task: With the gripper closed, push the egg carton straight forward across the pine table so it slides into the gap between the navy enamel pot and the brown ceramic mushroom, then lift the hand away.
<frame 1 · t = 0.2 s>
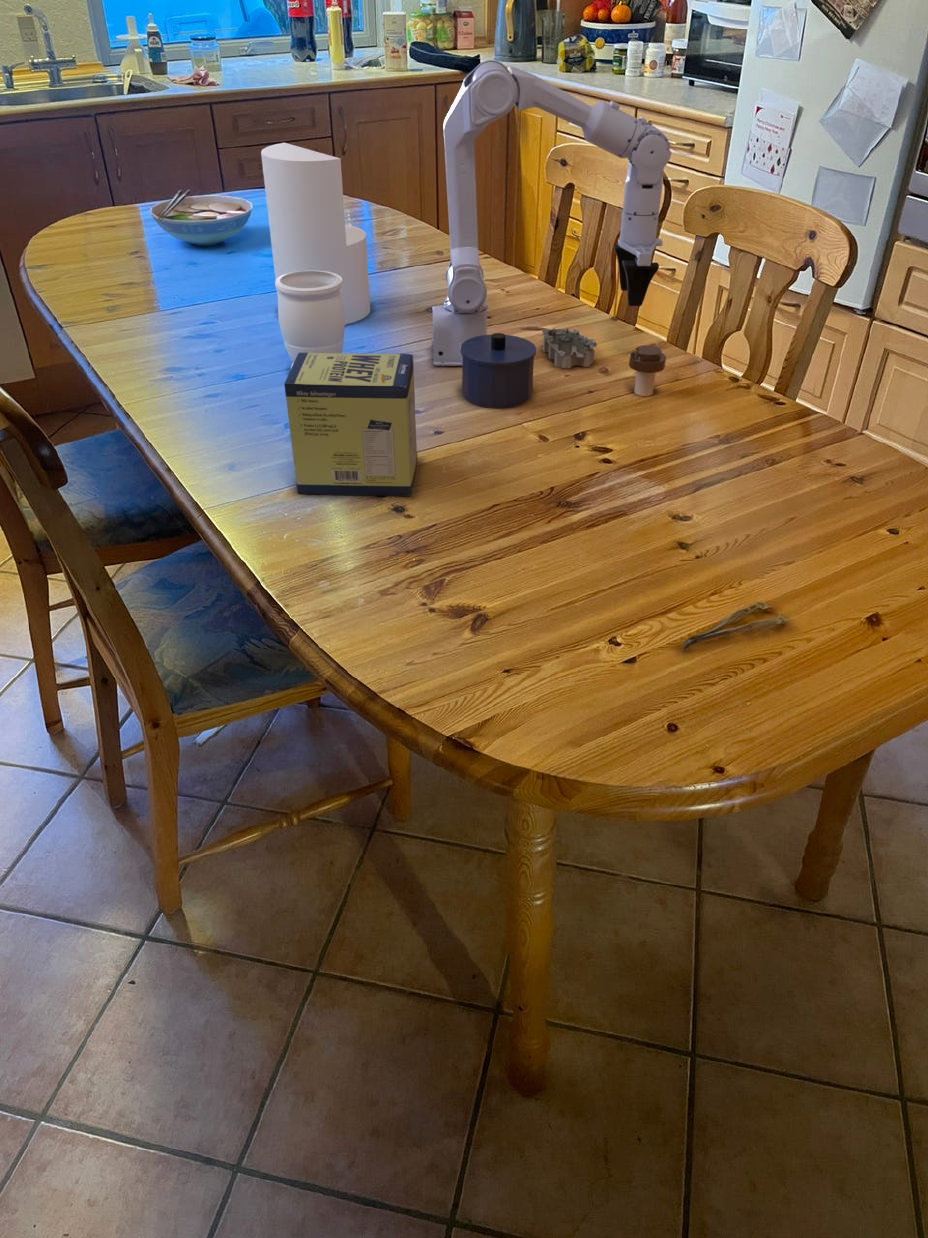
hand: (631, 297, 158), 10 cm above the table, tool pointing down, fingers open, 7 cm apart
protein box: (358, 478, 129), on the table
cylinder: (325, 311, 181), on the table
jar: (316, 371, 158), on the table
tongs: (732, 636, 102), on the table
egg carton: (566, 358, 164), on the table
mushroom: (643, 392, 152), on the table
pot lid: (498, 351, 147), point 7 cm above the table, touching pot
ramen bowl: (206, 242, 218), on the table
pot: (496, 393, 151), on the table
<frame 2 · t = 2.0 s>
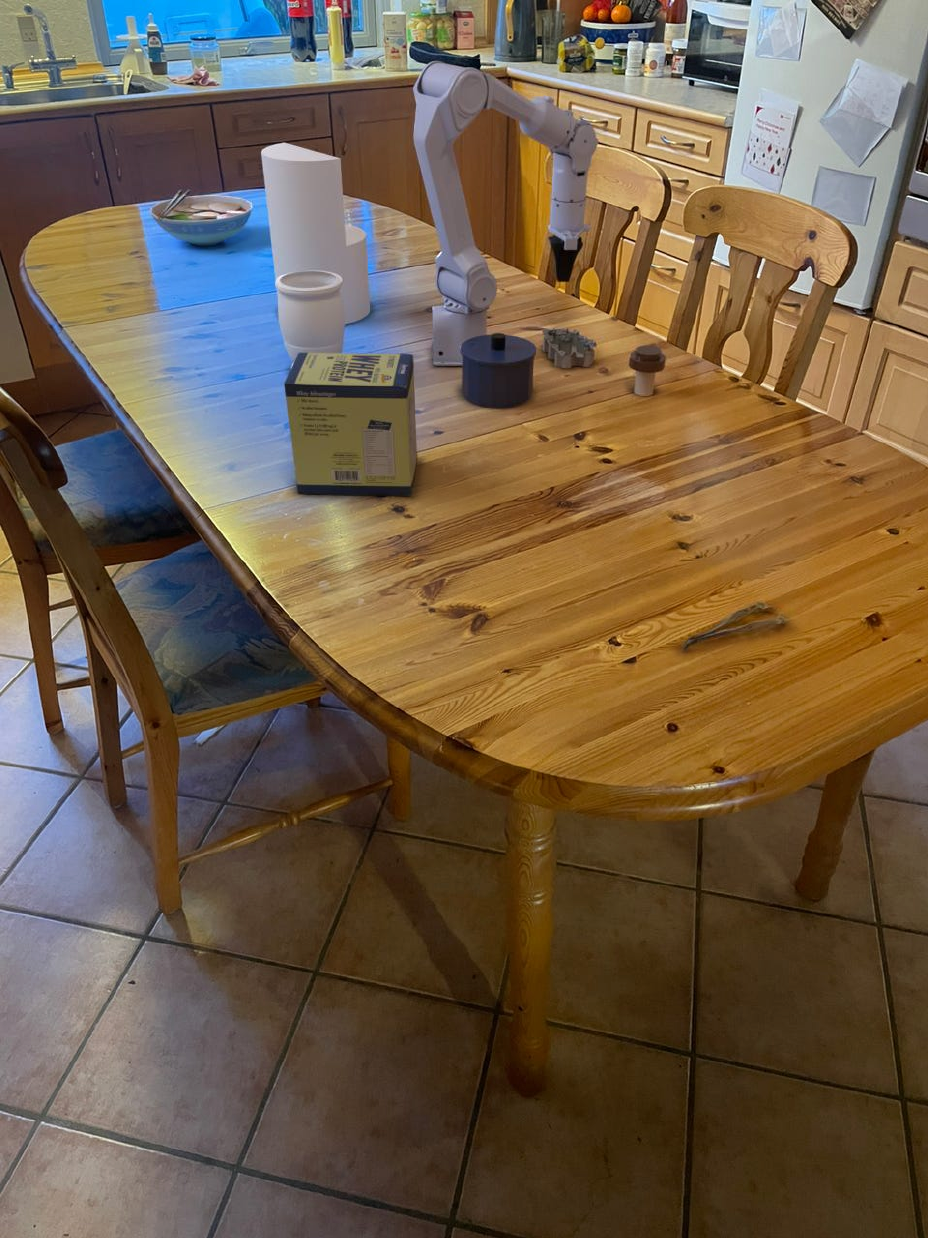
hand: (562, 280, 167), 9 cm above the table, tool pointing down, fingers closed
nothing on the table moved.
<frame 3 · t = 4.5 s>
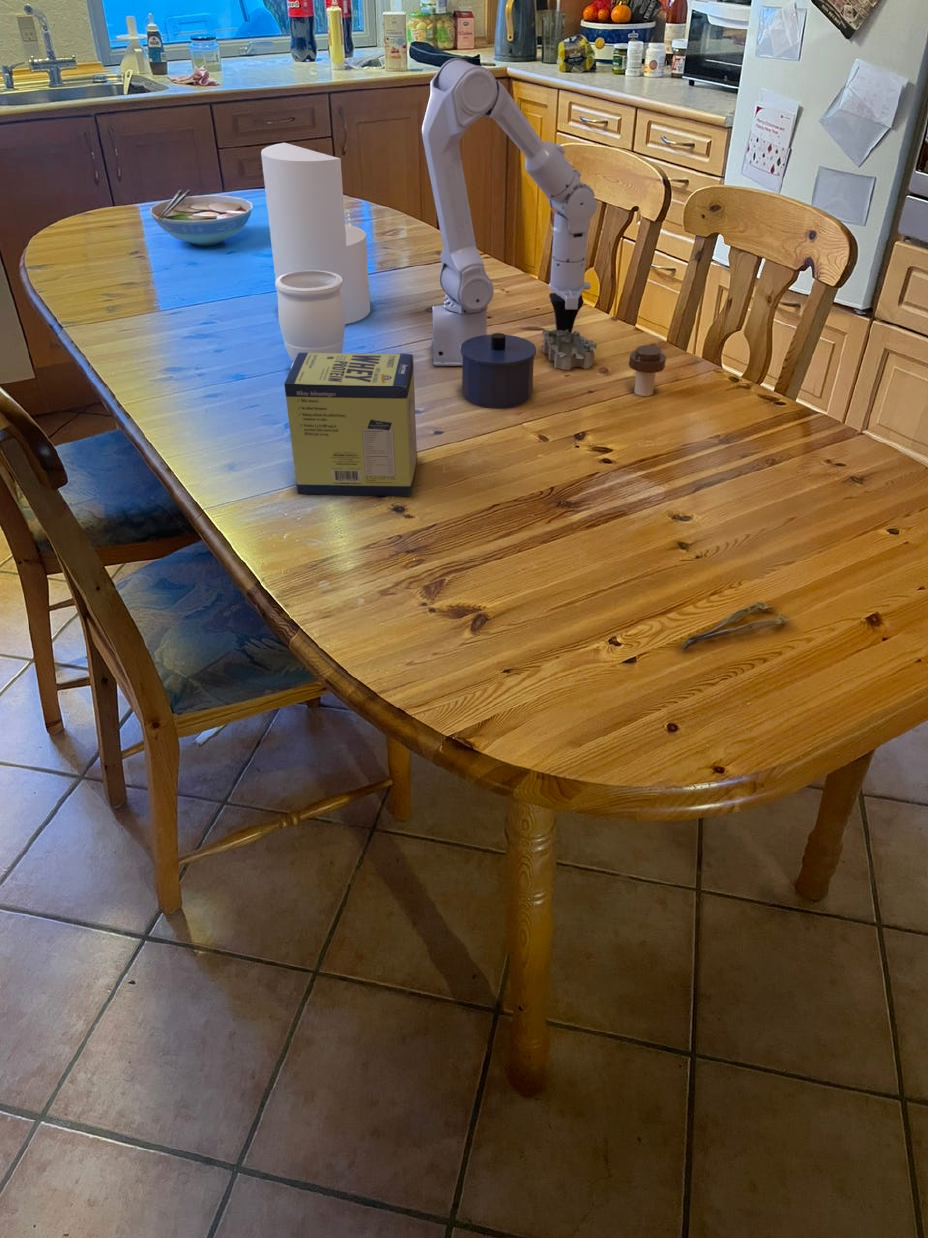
hand: (563, 336, 167), 1 cm above the table, tool pointing down, fingers closed
egg carton: (566, 359, 163), on the table, touching gripper
everything else where it was.
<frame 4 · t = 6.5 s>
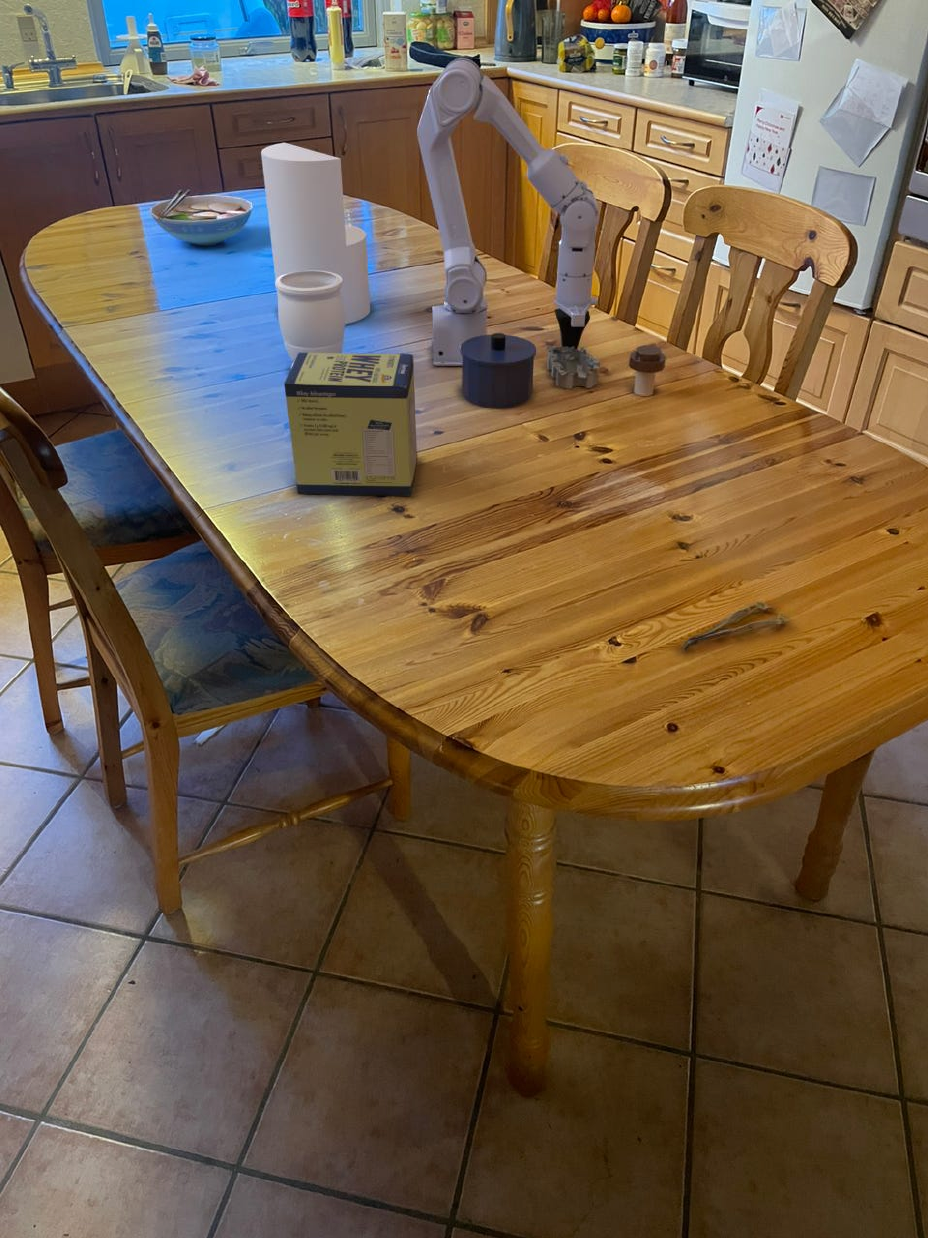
hand: (569, 353, 161), 1 cm above the table, tool pointing down, fingers closed
egg carton: (570, 377, 157), on the table, touching gripper
everything else where it was.
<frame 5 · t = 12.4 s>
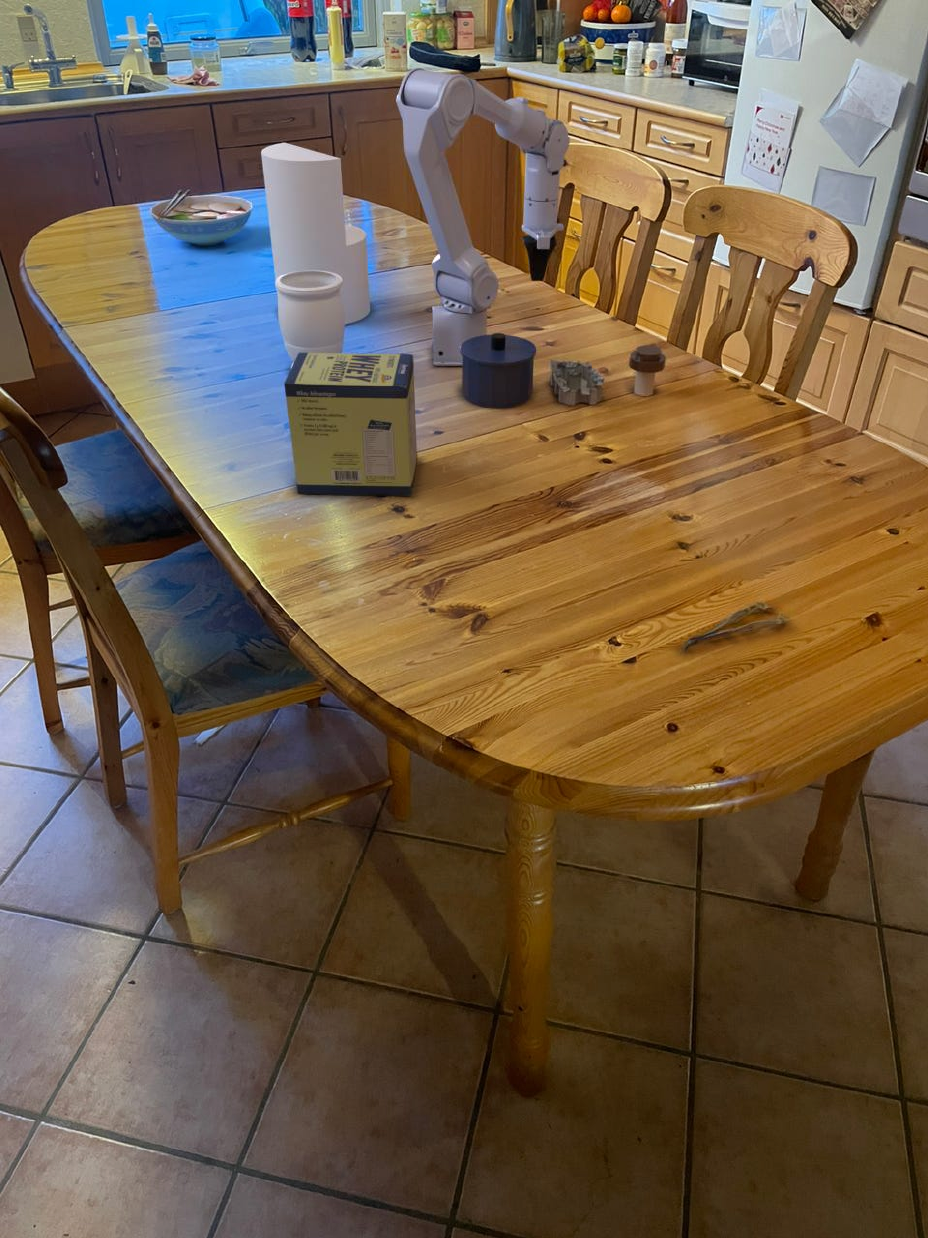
hand: (537, 279, 167), 9 cm above the table, tool pointing down, fingers closed
egg carton: (574, 393, 152), on the table
everything else where it was.
at the end: egg carton inside the target area (0.5 cm from its centre), on the table; egg carton tilted 0° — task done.
